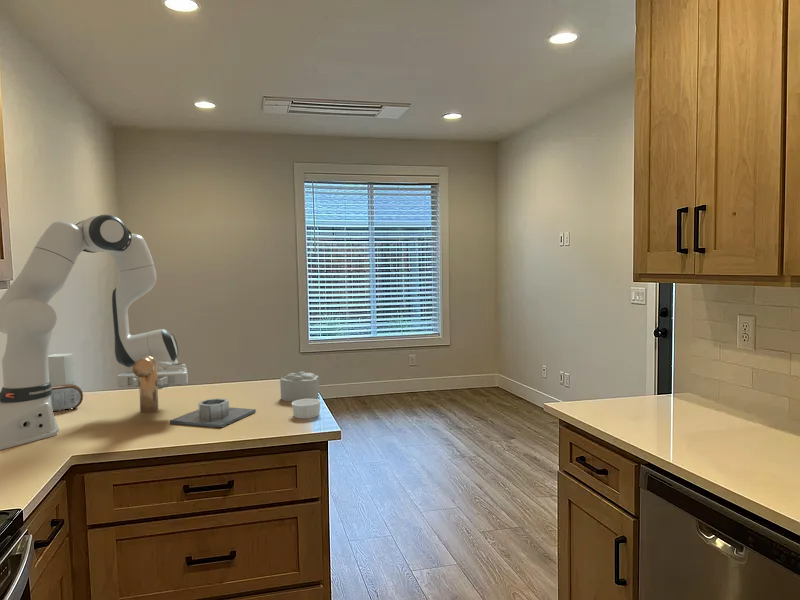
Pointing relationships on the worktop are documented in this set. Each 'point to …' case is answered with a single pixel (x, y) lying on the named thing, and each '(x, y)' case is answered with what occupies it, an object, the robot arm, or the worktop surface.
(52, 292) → the robot arm
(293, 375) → the lumpy-topped squat cylinder
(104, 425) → the worktop surface
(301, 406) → the ramekin
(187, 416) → the duct collar
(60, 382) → the skincare box
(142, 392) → the wooden knob peg
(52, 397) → the tin
